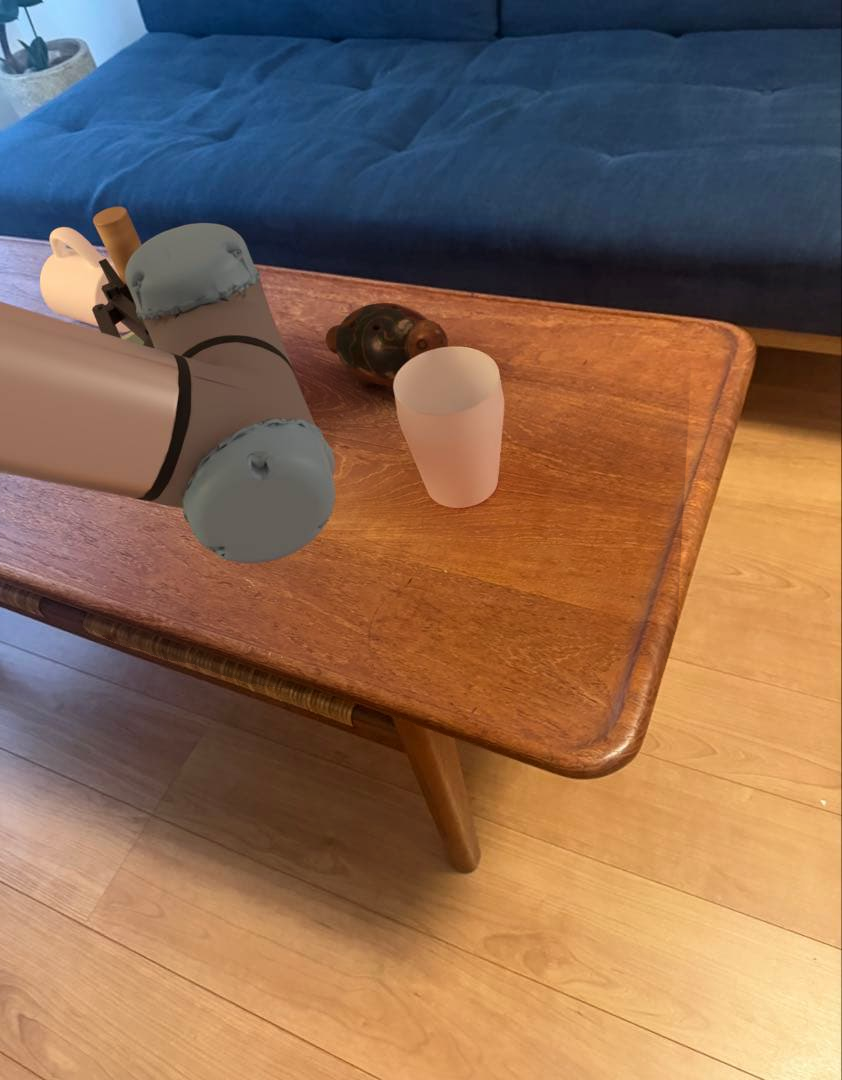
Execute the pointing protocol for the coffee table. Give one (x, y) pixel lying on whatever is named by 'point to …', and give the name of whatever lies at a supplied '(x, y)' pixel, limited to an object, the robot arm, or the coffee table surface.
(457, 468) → the cup
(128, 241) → the wooden peg stand
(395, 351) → the decorative turtle
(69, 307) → the mug
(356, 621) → the coffee table surface
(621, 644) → the coffee table surface
